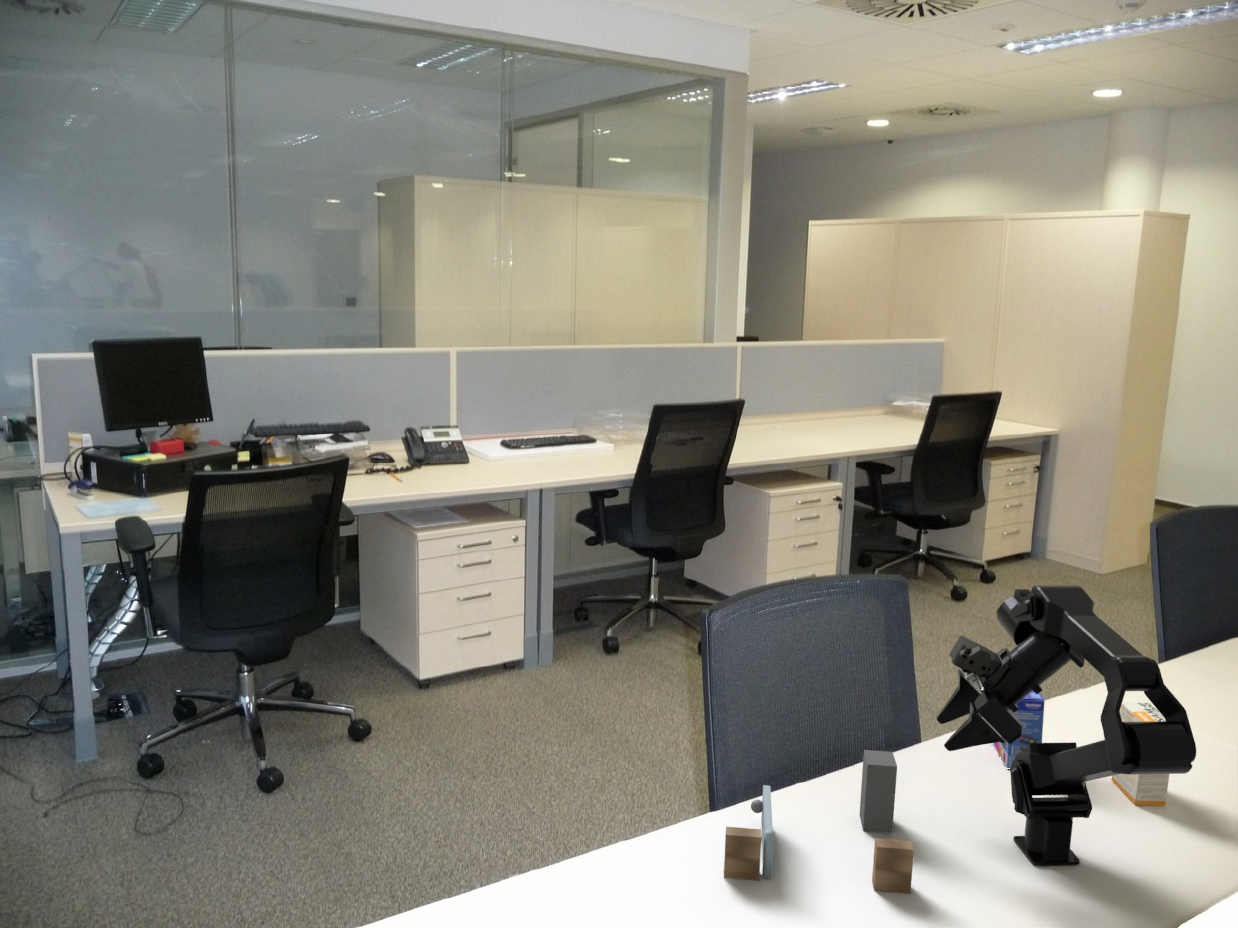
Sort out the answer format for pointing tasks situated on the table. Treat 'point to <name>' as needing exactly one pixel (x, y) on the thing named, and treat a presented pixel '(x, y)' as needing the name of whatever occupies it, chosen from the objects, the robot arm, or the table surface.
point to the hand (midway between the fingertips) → (942, 734)
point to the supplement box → (1142, 785)
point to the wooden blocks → (887, 866)
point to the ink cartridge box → (1024, 727)
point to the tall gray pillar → (878, 791)
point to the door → (765, 829)
